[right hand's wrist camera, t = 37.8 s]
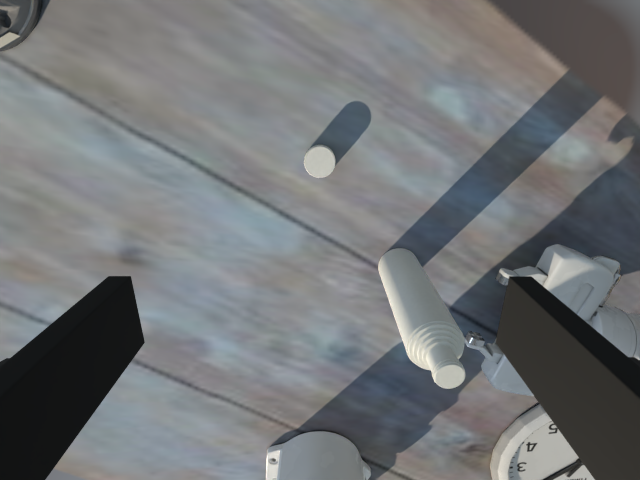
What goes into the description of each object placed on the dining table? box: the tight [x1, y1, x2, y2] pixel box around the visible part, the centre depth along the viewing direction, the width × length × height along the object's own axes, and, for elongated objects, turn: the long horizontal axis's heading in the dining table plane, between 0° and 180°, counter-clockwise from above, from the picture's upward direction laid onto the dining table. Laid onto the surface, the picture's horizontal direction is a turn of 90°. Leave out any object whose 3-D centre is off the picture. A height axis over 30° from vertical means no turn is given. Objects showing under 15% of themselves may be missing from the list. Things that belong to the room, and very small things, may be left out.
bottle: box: [378, 248, 465, 389], centre depth 40 cm, size 6×6×22 cm
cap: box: [304, 144, 336, 178], centre depth 44 cm, size 4×4×2 cm
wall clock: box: [490, 404, 595, 480], centre depth 63 cm, size 30×2×30 cm
